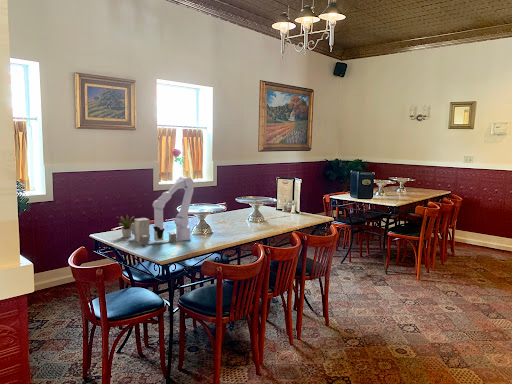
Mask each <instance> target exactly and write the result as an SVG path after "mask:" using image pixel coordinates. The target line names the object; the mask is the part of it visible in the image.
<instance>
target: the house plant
mask: <svg viewBox="0 0 512 384" xmlns="http://www.w3.org/2000/svg"><path fill="white" fill-rule="evenodd" d="M134 217H135V215H133V216H132V217H131V218H130V219H129V216H128V214H126V217H123V216H122V215H121V216H120V218H119V216H117V218H119V221H120V222H119V223H118V225H120V226H121V233H122V234H121V235H122V237H123V238H124V237H128V238H130V237H131V236H132V223H134V221H132V220H134Z"/></svg>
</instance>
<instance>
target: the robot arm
mask: <svg viewBox="0 0 512 384" xmlns="http://www.w3.org/2000/svg"><path fill="white" fill-rule="evenodd" d="M180 188H183V190H184V193H183V198H182V203H181V205H180V210H179V212H178V213H177V214H176V216H175V218H174V220H173V222H174V224H175V229H176V230H175V232H176V233H175V234H176V240H177V242H181V241H182V242H183V241H189V240H191V227H190V226H189V223H190V222H189V218H190V217H189V215H188V214H189V213H188V212H189V209H190V206H191V202H192V197H193V195H194V180H193V179H192V177H189V176H188V177H187V176H180V177H179V178H178V179H176V181H175V183H174V184H173V185H172V186H171V187H170V188H169V189H168V190H167V191H164V192H162V194H161V195H160V196H159V197H158V198H157V199H155V200H154V201H153V202H152V204H151V205H152V208H153V213H154V214H153V217H154V221H153V223H154V224H152V227H153V229H154V231H157V235H158V239H162V235H163V236H164V231H165V228H164V208H165V206H166V203H168V201H170V200H171V199H172V195H173V194H174V193H175V192H176V191H178V190H179V189H180Z"/></svg>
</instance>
